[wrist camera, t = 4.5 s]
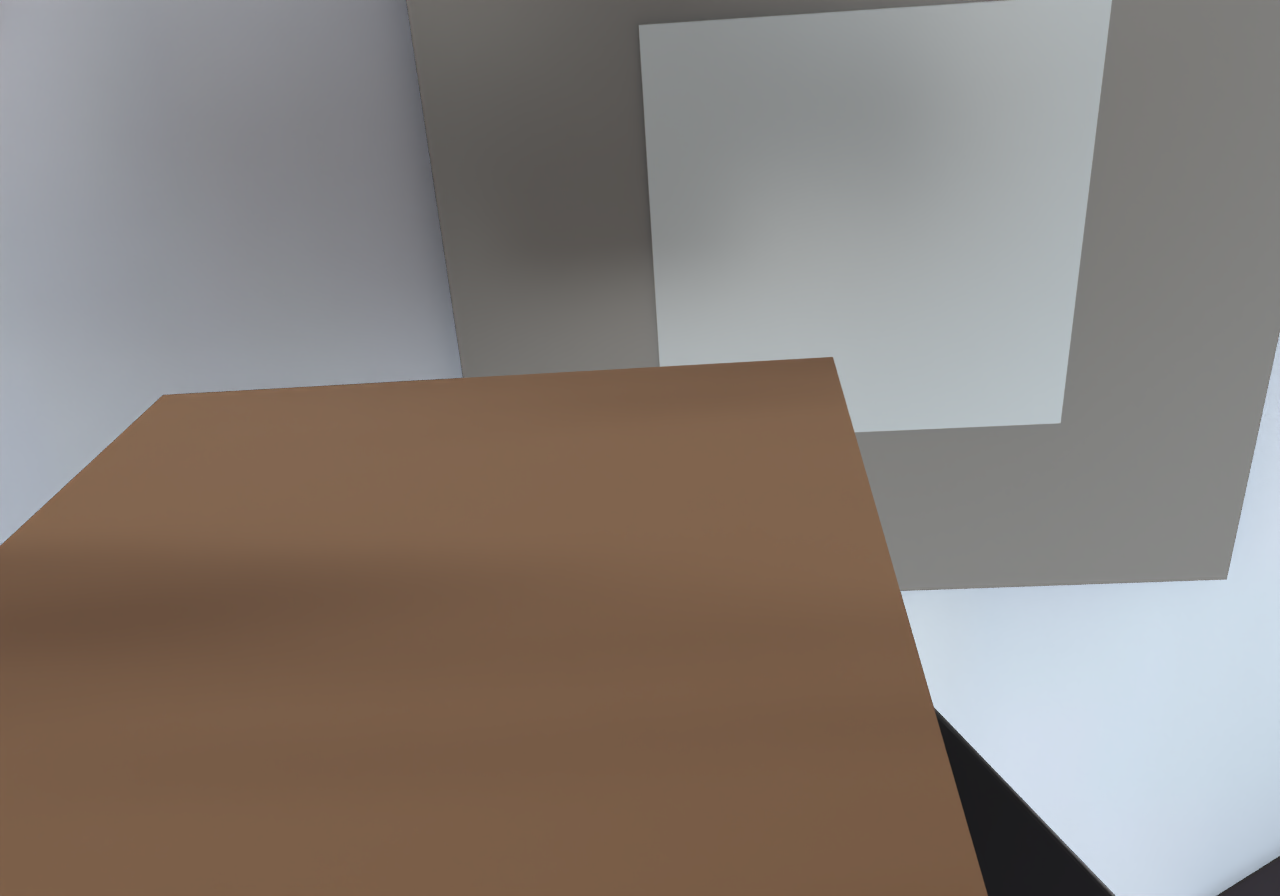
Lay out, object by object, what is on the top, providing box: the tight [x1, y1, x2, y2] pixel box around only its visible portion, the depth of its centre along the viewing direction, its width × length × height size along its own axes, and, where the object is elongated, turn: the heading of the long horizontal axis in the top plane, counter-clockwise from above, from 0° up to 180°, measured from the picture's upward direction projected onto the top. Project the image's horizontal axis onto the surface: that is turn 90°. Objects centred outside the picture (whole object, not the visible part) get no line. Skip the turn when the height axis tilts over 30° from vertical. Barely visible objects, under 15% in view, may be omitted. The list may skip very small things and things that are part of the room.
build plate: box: [406, 0, 1280, 591], centre depth 18 cm, size 14×14×1 cm
